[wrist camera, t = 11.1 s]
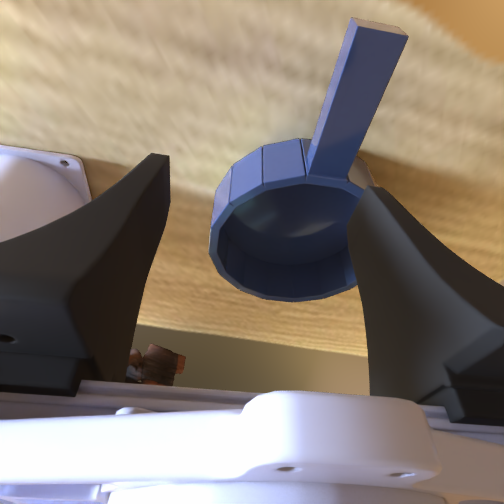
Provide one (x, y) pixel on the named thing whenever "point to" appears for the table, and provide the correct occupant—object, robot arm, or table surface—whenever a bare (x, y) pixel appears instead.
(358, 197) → the blue measuring scoop
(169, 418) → the robot arm
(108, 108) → the table surface
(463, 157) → the table surface
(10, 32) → the table surface
